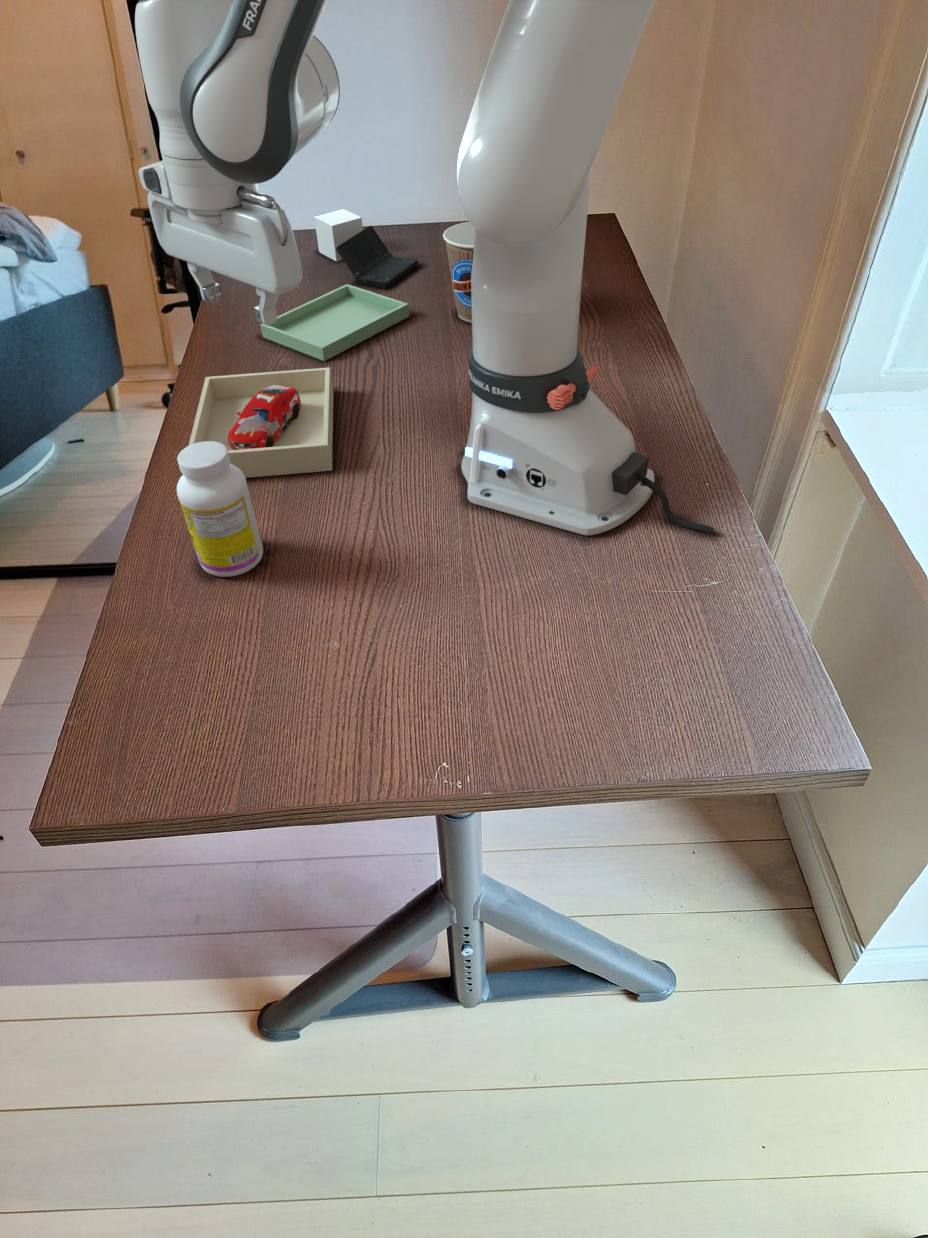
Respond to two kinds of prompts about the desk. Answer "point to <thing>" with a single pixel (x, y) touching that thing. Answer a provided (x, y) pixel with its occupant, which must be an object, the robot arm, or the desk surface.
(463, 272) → the coffee cup
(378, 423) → the desk surface
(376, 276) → the handheld gaming console
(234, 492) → the supplement bottle
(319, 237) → the white cube
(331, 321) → the tray
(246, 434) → the race car
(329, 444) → the cream shallow box
